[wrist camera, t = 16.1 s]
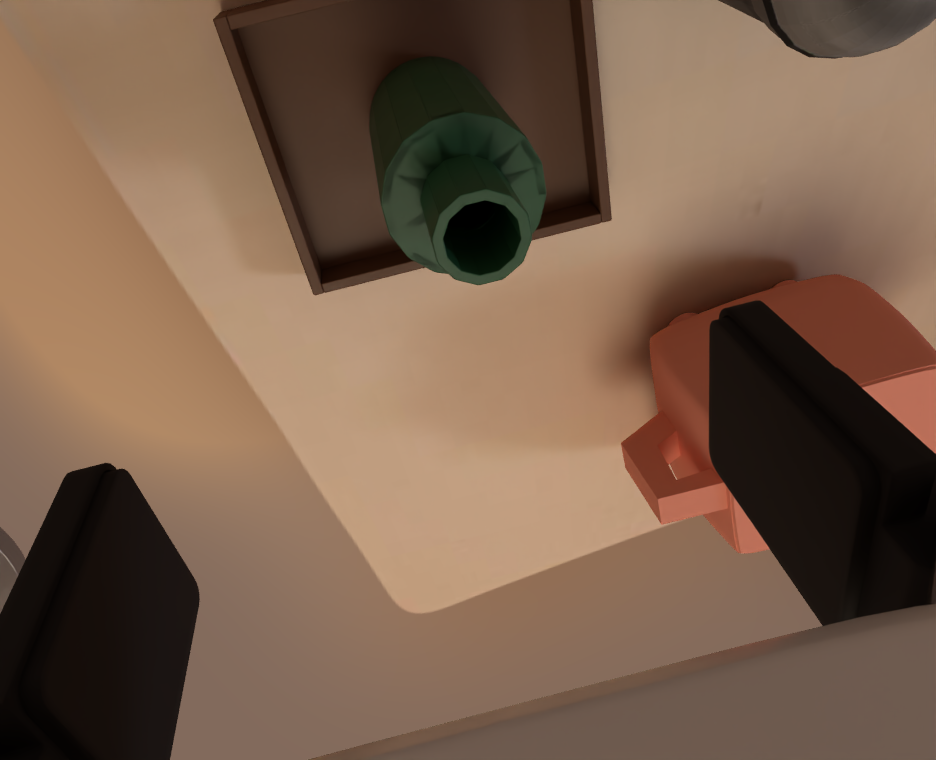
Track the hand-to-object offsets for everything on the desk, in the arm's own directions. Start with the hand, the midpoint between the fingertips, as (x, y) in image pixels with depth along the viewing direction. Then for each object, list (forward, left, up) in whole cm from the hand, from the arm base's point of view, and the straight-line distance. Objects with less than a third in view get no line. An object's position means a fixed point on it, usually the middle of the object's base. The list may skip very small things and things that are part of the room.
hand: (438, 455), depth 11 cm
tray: (+3, -3, -31) cm, 31 cm away
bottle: (+3, -3, -30) cm, 30 cm away
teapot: (+21, -23, -31) cm, 44 cm away
